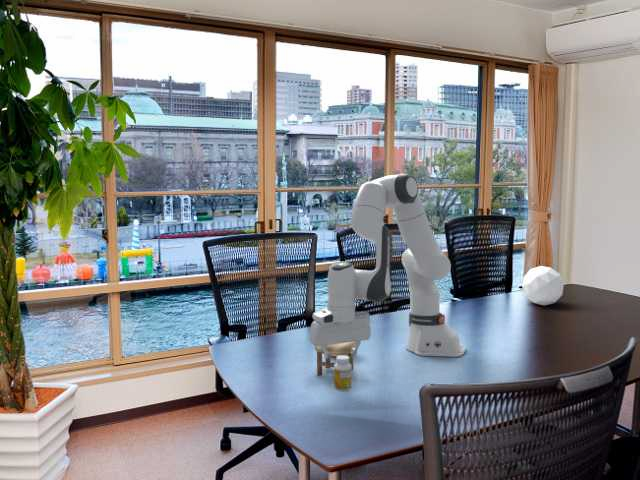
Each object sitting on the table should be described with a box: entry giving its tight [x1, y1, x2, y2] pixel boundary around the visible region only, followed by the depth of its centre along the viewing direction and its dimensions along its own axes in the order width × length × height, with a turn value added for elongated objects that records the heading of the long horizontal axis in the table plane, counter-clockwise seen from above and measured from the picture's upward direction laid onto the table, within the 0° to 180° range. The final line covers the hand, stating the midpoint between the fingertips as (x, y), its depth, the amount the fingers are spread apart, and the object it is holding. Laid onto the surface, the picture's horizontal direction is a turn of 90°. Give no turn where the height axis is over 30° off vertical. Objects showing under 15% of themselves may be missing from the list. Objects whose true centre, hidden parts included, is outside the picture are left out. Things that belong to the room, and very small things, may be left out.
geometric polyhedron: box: [522, 265, 565, 307], centre depth 303 cm, size 19×20×20 cm
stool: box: [314, 342, 355, 377], centre depth 209 cm, size 14×14×10 cm
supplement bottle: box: [333, 355, 353, 392], centre depth 195 cm, size 6×6×10 cm
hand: (340, 355), depth 194 cm, fingers open, 8 cm apart
